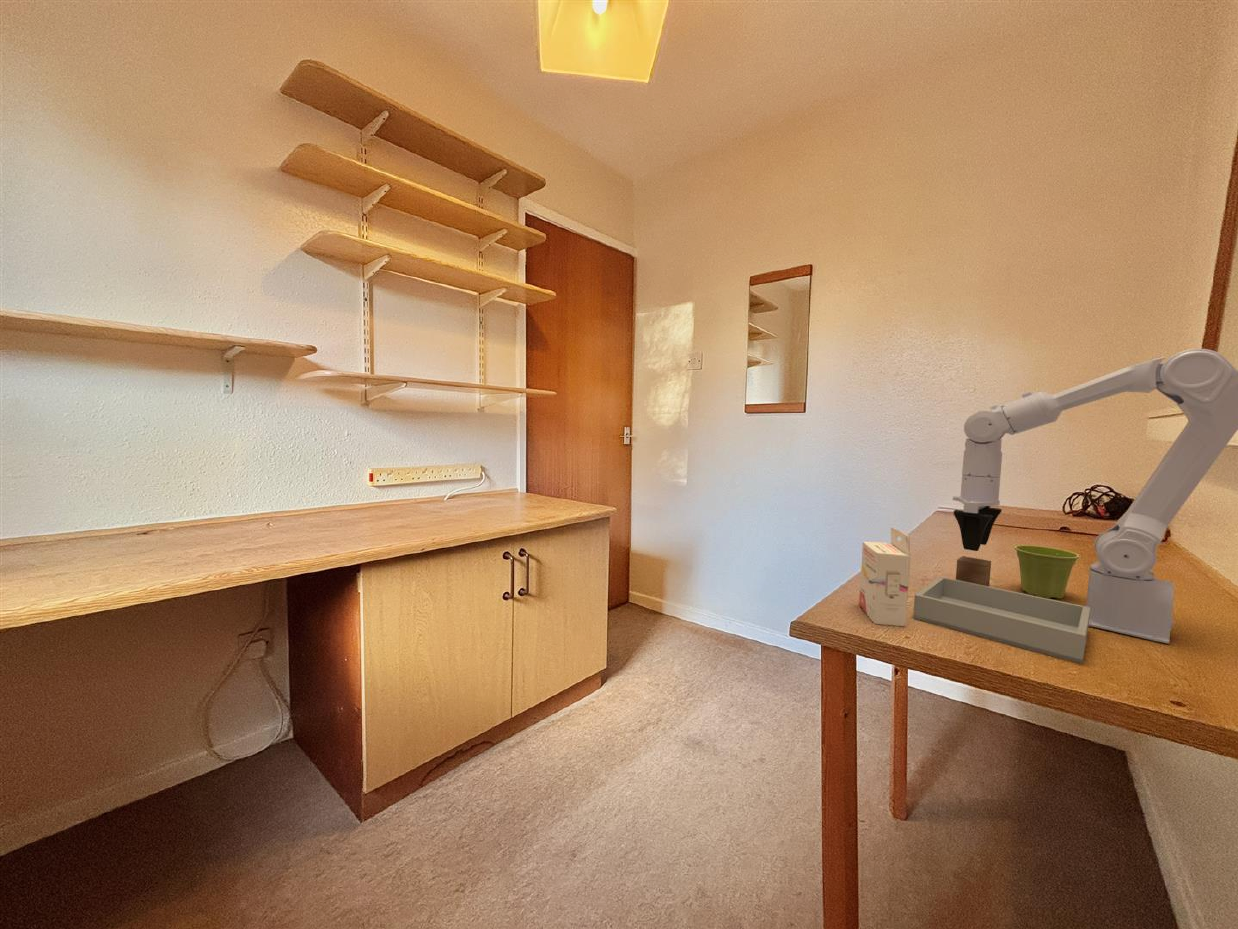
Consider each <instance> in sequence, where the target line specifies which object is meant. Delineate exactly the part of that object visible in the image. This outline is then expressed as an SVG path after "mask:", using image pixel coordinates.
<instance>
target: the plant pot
mask: <svg viewBox="0 0 1238 929" xmlns="http://www.w3.org/2000/svg"><path fill="white" fill-rule="evenodd" d="M1013 548H1014V549H1013V550H1015V551H1016V556H1017V558H1018V565H1019V566H1018V567H1019V572H1020V573H1019V574H1020V575H1019V577H1020V585H1021V591H1022V592H1026V594H1028V595H1032V596H1034V595H1035V596H1037V597H1042V598H1047V599H1051V598H1055V599H1058V600H1060V599H1063V598H1064V597H1065V593H1066V590H1067V586H1068V582H1069V579H1070V575H1071V574H1072V573H1071V572H1072V569H1073V567H1074V566H1075V565H1076V563H1077V560H1079V559H1080V557H1081V556H1080V554H1078V553H1076V552H1073V551H1070V550H1065V549H1062V548H1061V549H1059V548H1054V547H1048V546H1043V545H1042V546H1041V545H1033V544H1031V545H1028V544H1027V545H1026V544H1022V545H1021V544H1019V545H1015V546H1013Z"/></svg>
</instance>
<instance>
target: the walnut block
mask: <svg viewBox="0 0 1238 929" xmlns="http://www.w3.org/2000/svg"><path fill="white" fill-rule="evenodd" d="M955 570H956V571H955V580H960V581H965V582H970V583H974V584H979V585H984V586H989V587H990V580H991V570H992V560H988V559H982V558H975V557H972V556H971V557H970V556H964V555H962V556H960V557H959V558H958V559H957V560H956V569H955Z"/></svg>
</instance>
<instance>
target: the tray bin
mask: <svg viewBox="0 0 1238 929" xmlns="http://www.w3.org/2000/svg"><path fill="white" fill-rule="evenodd" d="M913 600H914V602H913V603H914V604H913V613H912V614H913V616H912V618H913V619H914V620H917V621H922V622H924V623H928V624H932V625H935V626H940V627H943V628H947V629H951V630H955V631H958V632H962V633H965V634H968V635H973V636H976V637H980V638H984V639H986V640H991V641H994V642H999V643H1002V644H1005V645H1009V646H1013V647H1017V648H1020V649H1024V650H1027V651H1031V652H1034V653H1039V654H1042V655H1046V656H1050V657H1054V658H1057V659H1061V660H1064V661H1068V662H1073V663H1075V664H1080V665H1083V664H1084V656H1085V653H1086V652H1085V651H1086V646H1087V640H1088V635H1089V634H1088V633H1089V627H1090V626H1089V616H1090V607H1086V605H1081V604H1076V603H1072V602H1071V603H1070V602H1067V601H1060V600H1056V599H1051V598H1043V597H1039V596H1034V595H1031V594H1029V593H1022V592H1018V591H1012V590H1007V589H1004V588H998V587H993V586H990V585H989V586H984V585H979V584H974V583H970V582H965V581H960V580H956V578H955V579H953V578H950V577H945V576H939V577H937V578H935V580H933V581H932V582H930V583H929V584H927V586H925V587H923V588H922V589H921V590H920V591H918V592H917V593H915V594H914V598H913Z"/></svg>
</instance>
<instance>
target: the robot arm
mask: <svg viewBox="0 0 1238 929" xmlns="http://www.w3.org/2000/svg"><path fill="white" fill-rule="evenodd" d="M1166 358H1167V356H1162V357H1158V358H1153V359H1150V360H1147V361H1143V362H1140V363H1137V364H1133V365H1130V366H1127V367H1124V368H1121V369H1119V370H1115V371H1113V372H1111V373H1107V374H1106V375H1102V376H1100V377H1097V378H1095V379H1092V380H1089V381H1086V382H1083V383H1082V384H1078V385H1076V386H1073V387H1071V388H1068V389H1066V390H1062V391H1060V392H1057V393H1055V394H1054V393H1053V394H1051V393H1048V392H1045V391H1038V392H1034V393H1033V392H1032V391H1027V392H1025V393H1022V394H1021V397H1020V398H1018V399H1016V400H1012V401H1009V402H1007V403H1003V404H1002V405H998V404H993V405H992V406H990V410H978V411H977V412H976V413H974V414H972V415H970V416H969V417H968V418H967V419H966V421H965V422H964V425H963V432H964V434H965V436H966V437H967V438H965V442H964V447H965V450H963V460H962V469H961V470H962V472H961V474H962V476H961V483H960V484H961V485H960V496H957V495H955V496H952V501H957V502H959V503H961V504H963V510H961V509H955V510H953V516H954V517H955V519H956V522H957V524H958V526H959V530H960V536H961V543H962V547H963V549H964V550H967V551H974V552H978V551H979V550H980V548H981V546H986V545H987V544H988V541H989V538H990V536H991V532H992V529H993V526H994V524H995V522H996V521H997V519H998V517H999V515H1001V513H1002V511H1003V510H1002V509H1001V508H998V507H997V506H1000V502H1001V501H1000V500H999V498H1000V497H999V496H1000V487H1001V486H1000V485H1001V484H1000V483H1001V474H1002V461H1003V452H1002V443H1003V442H1002V441H1003V440H1002V438H1004V436H1005V435H1006V434H1009V435H1010V436H1014V435H1016V434H1020V433H1023V432H1026V431H1029V430H1032V429H1035V428H1038V427H1042V426H1045V425H1048V424H1052V423H1055V422H1056V421H1057V420H1058V419H1059V417H1060V415H1061V413H1062V412H1063V411H1066V410H1070V409H1072V408H1076V407H1079V406H1082V405H1085V404H1088V403H1092V402H1096V401H1100V400H1102V399H1105V398H1106V399H1107V398H1108V397H1112V396H1115V395H1118V394H1121V393H1126V392H1127V393H1143V394H1144V393H1145V394H1150V393H1152V392H1153V391H1155V390H1157V391H1158V392H1160V393H1161V394H1162V395H1164V396H1165V397H1167V398H1168V399H1170V400H1171V401H1172V402H1174V403H1176V404H1177V405H1176V406H1178V408H1179V409H1180V410H1181V412H1182V413H1183V415H1184V416H1185V418H1186V419H1187V423H1186V425H1185V426H1184V427H1183V429H1182V430H1181V432H1180V433H1179V435H1178V436H1177V438H1176V439H1175V441H1174V442H1173V443H1172V445H1171V446H1170V448H1169V449H1168V450H1167V452H1166V454H1165V455H1164V456H1163V458H1162V459H1161V461H1160V462H1159V464H1158V465H1157V467H1156V468H1155V470H1154V471H1153V472H1152V473H1151V475H1150V477H1149V478H1148V479H1147V481H1146V483H1145V484H1144V485H1143V487H1142V489H1140V490H1139V493H1138V494H1137V495H1136V497H1135V499H1134V500H1133V501H1132V503H1131V504H1130V506H1129V507H1128V509H1127V510H1126V511H1125V512H1124V513H1123V514H1122V516H1121V517H1119V519H1118V520H1117V521H1116V523H1115V524H1114V525H1113V526H1112V527H1111V528H1109V529H1107V530H1105V531H1103V532H1101V533H1099V535H1098V536H1096V538H1095V540H1094V550H1095V552H1096V557H1097V561H1096V562H1094V563H1092V564H1089V572H1088V573H1089V574H1088V582H1087V583H1088V584H1087V593H1086V604H1085V606H1086V607H1090V616H1089V626H1088V627H1092V628H1097V629H1101V630H1105V631H1106V630H1107V631H1111V632H1114V633H1118V634H1119V633H1120V634H1124V635H1127V636H1133V637H1137V638H1141V639H1145V640H1149V641H1154V642H1159V643H1163V644H1170V639H1171V638H1170V637H1171V631H1172V630H1173V629H1174V618H1173V610H1174V609H1173V608H1174V603H1175V602H1174V600H1175V583H1174V582H1172V581H1170V580H1164V579H1159V578H1156V574H1155V573H1154V572H1153V571H1152V570H1153V569H1154V567H1155V566H1156V564H1157V561H1158V560H1157V549H1158V547H1159V545H1160V544H1161V542H1162V541H1163V539H1164V537H1165V534H1166V532H1167V528H1168V527H1169V525H1170V523H1171V522H1172V521H1173V520H1174V518H1175V517H1176V515H1177V514H1178V512H1179V511H1180V510H1181V508H1182V507H1183V506H1184V504H1185V503H1186V501H1187V500H1188V499H1189V497H1190V496H1191V495H1192V493H1193V492H1194V491H1195V489H1196V488H1197V487H1198V485H1199V483H1200V482H1201V481H1202V479H1203V478H1204V476H1206V474H1207V473H1208V472H1209V471H1210V469H1211V467H1212V466H1213V465H1214V462H1216V460H1217V459H1218V457H1219V456H1220V455H1221V453H1222V452H1223V451H1224V449H1225V448H1226V447H1227V445H1228V443H1229V442H1230V441H1231V440H1232V438H1233V437H1234V435H1235V434H1236V433H1237V431H1238V369H1237V368H1236V367H1235V366H1234V365H1233V363H1231V362H1230V361H1229V360H1228V359H1227V358H1226V357H1225V356H1224V355H1223V354H1221V353H1219V352H1217V351H1215V350H1212V349H1208V348H1192V349H1187V350H1182V351H1181V352H1177V353H1175V354H1174V355H1172V356H1170V357H1169V358H1168V359H1167V360H1166V361H1165V362H1164V363H1162V361H1163V360H1165V359H1166ZM994 506H995V507H994ZM996 507H997V508H996Z"/></svg>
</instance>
